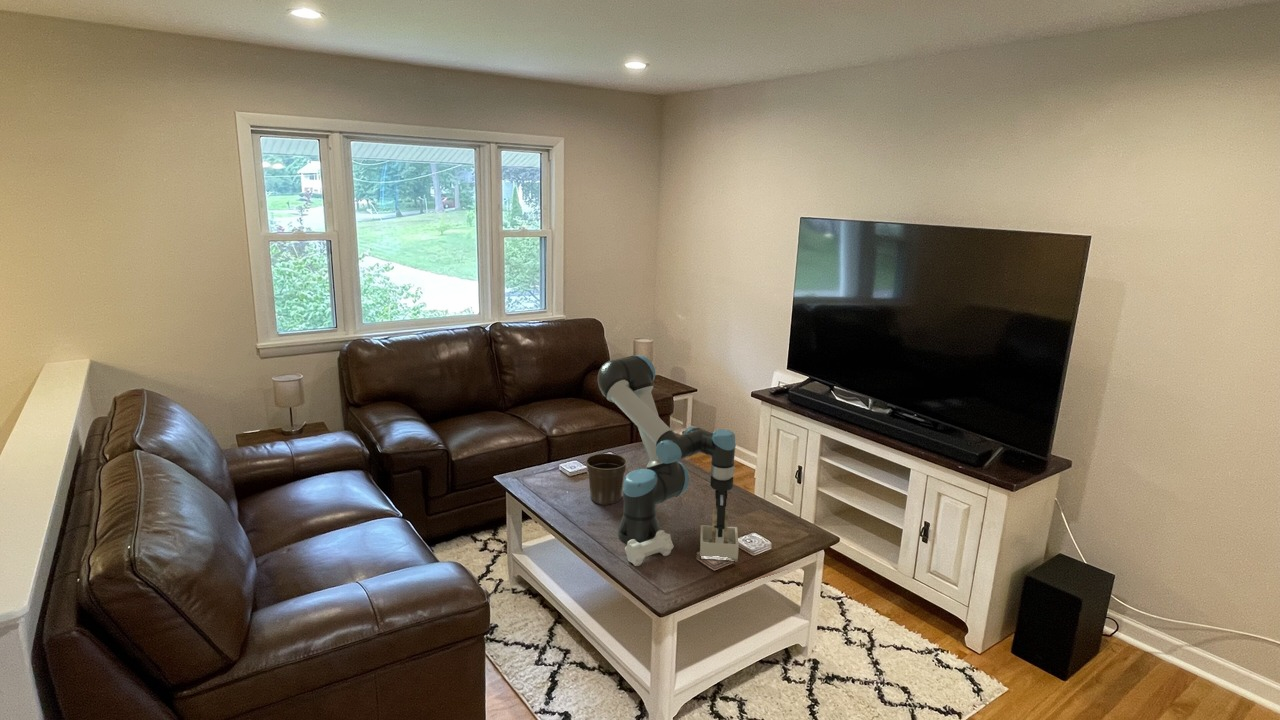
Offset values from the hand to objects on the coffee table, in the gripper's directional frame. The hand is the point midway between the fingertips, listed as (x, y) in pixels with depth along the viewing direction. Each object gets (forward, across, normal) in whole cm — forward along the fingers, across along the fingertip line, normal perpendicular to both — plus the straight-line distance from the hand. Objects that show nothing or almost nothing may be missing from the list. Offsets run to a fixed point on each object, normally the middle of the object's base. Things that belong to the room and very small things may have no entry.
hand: (719, 536), depth 229 cm
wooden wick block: (+4, 0, 0) cm, 4 cm away
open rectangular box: (+5, 0, 0) cm, 5 cm away
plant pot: (+6, +35, +44) cm, 57 cm away
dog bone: (+6, -7, +23) cm, 25 cm away
